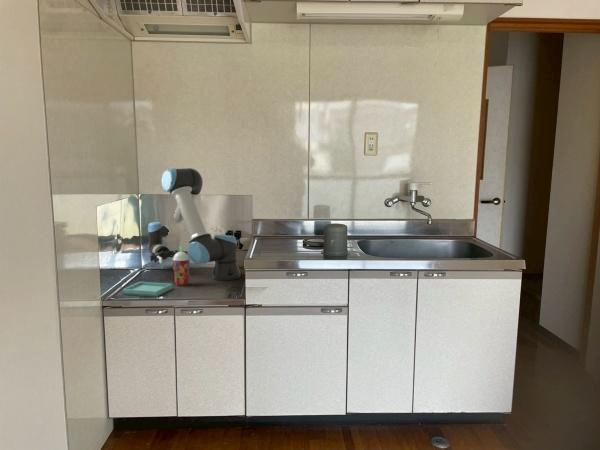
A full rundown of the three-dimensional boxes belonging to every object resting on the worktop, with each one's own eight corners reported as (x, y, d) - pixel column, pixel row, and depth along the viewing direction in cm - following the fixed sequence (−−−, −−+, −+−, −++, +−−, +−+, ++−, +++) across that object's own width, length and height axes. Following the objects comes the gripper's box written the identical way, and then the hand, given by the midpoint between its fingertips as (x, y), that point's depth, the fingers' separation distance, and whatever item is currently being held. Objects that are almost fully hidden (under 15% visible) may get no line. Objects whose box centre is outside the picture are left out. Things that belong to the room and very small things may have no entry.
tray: (172, 288, 226) (171, 283, 226) (156, 296, 213) (156, 291, 212) (140, 286, 231) (140, 281, 231) (123, 294, 217) (122, 289, 217)
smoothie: (193, 282, 237) (191, 244, 234) (186, 287, 229) (184, 248, 226) (178, 282, 238) (176, 244, 235) (170, 286, 230) (169, 247, 227)
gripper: (182, 255, 265) (197, 262, 248) (139, 261, 251) (150, 269, 233) (182, 243, 264) (196, 249, 246) (138, 248, 250) (150, 254, 232)
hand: (174, 259), depth 240 cm, fingers open, 13 cm apart
